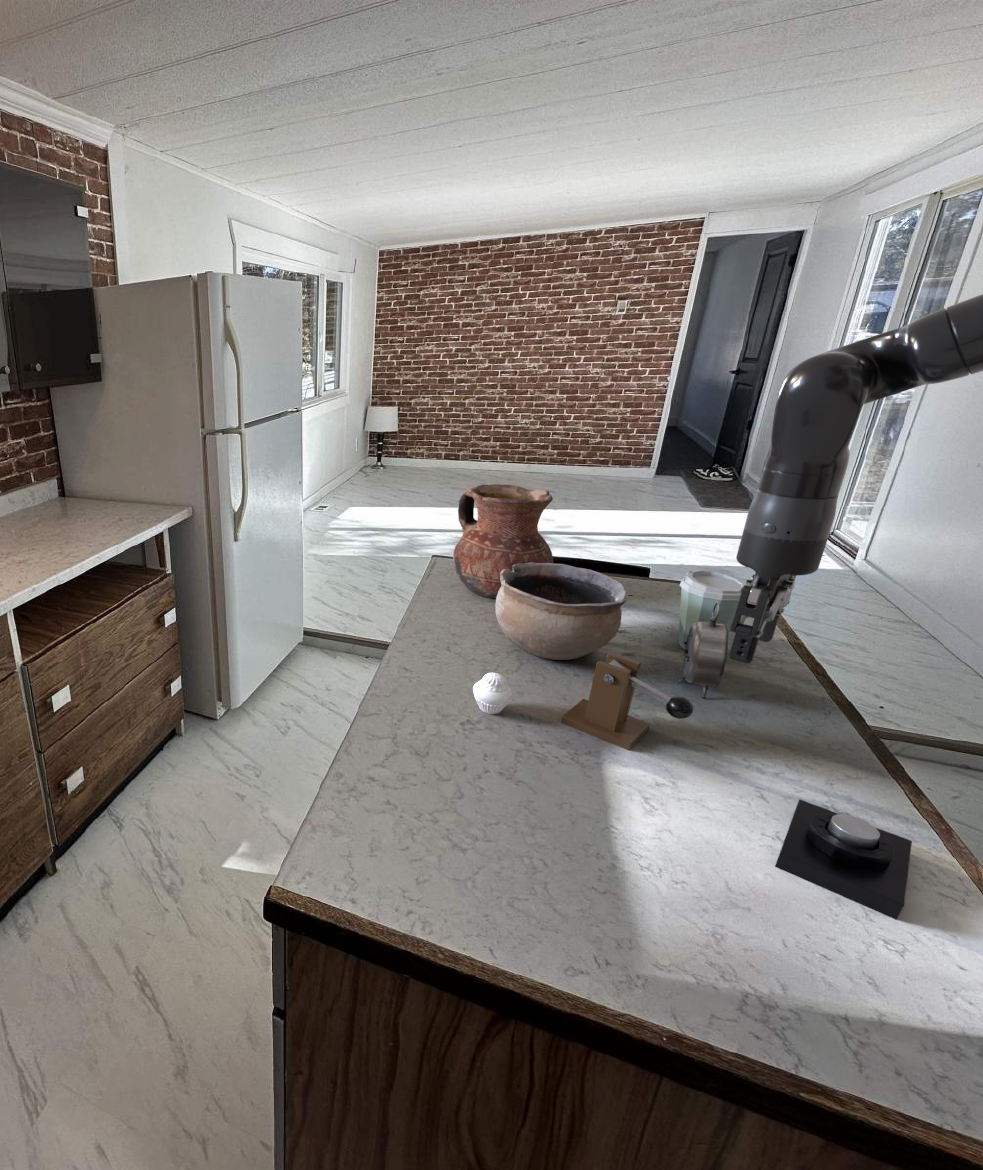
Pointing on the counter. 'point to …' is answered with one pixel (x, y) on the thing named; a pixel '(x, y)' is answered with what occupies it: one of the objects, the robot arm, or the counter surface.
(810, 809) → the button base
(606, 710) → the lever bracket
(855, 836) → the grey push button
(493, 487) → the jug
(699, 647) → the alarm clock
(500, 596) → the ceramic bowl
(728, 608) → the disposable coffee cup
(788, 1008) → the counter surface
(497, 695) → the muffin
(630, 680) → the ball knob lever
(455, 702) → the counter surface
